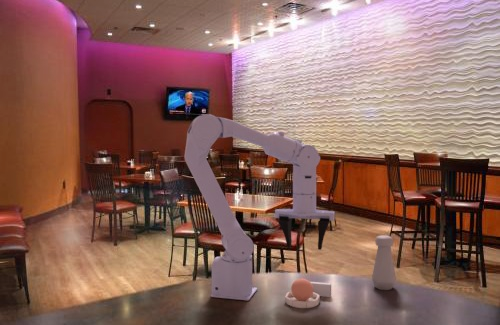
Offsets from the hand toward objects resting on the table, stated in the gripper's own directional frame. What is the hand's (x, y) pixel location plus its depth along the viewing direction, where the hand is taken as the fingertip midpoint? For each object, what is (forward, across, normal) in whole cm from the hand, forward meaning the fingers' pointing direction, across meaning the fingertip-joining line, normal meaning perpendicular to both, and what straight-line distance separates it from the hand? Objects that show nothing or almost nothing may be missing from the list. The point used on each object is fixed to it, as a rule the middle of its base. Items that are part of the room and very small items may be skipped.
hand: (304, 247), depth 115 cm
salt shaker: (+11, +19, +6) cm, 23 cm away
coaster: (+10, +1, -9) cm, 14 cm away
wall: (+10, +3, -4) cm, 11 cm away
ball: (+10, +1, -9) cm, 13 cm away
